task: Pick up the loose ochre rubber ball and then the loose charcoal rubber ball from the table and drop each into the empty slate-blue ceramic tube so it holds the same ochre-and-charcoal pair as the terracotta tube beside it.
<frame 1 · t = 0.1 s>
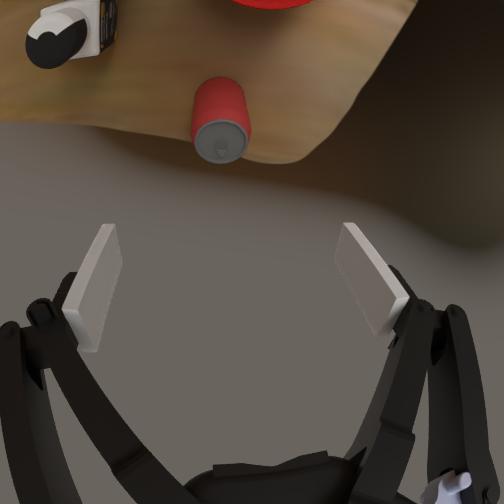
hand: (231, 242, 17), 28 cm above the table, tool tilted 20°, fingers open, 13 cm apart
medicine bottle: (91, 19, 23), on the table
beer can: (219, 96, 36), on the table
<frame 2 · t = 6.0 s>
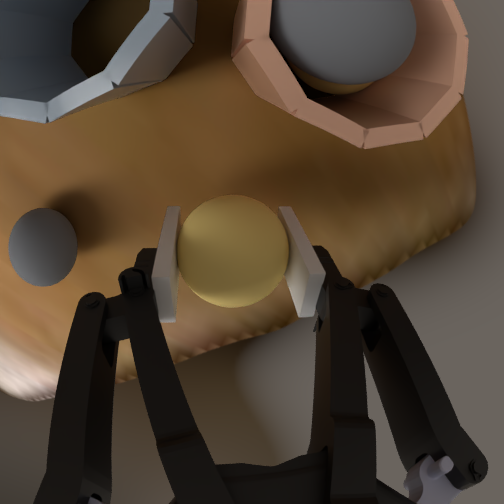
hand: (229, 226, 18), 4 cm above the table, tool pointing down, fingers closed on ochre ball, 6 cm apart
ochre ball A: (309, 45, 16), resting in terracotta tube, tilted 14°, touching charcoal ball A
slate tube: (124, 28, 14), on the table
ochre ball: (229, 223, 18), point 4 cm above the table, touching gripper
charcoal ball A: (357, 43, 11), point 6 cm above the table, tilted 40°, touching ochre ball A, terracotta tube
charcoal ball: (57, 227, 21), on the table
terracotta tube: (305, 44, 16), on the table
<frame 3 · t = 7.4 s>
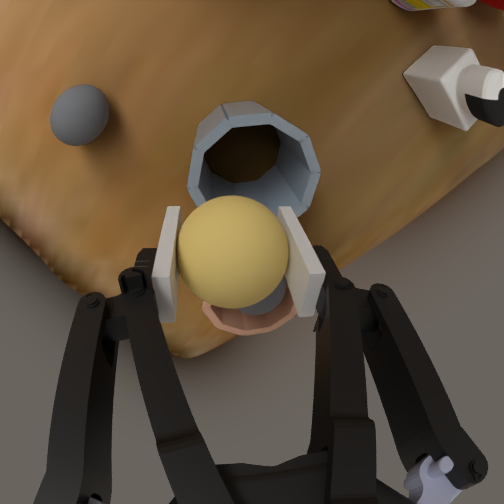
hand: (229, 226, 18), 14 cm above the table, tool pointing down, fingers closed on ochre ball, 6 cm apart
slate tube: (241, 146, 30), on the table
medicine bottle: (430, 80, 27), on the table
ochre ball: (229, 224, 18), point 14 cm above the table, touching gripper
charcoal ball A: (247, 283, 32), point 6 cm above the table, tilted 40°, touching ochre ball A, terracotta tube
charcoal ball: (90, 110, 25), on the table
terracotta tube: (242, 244, 36), on the table
when the fingers open (11 cm above the table, at t = 8.6 s): ochre ball drops 11 cm, resting in slate tube.
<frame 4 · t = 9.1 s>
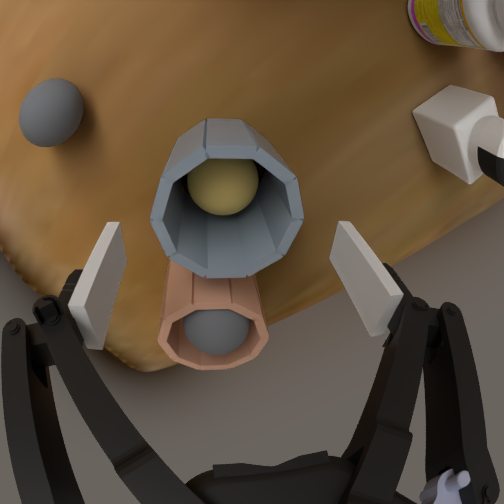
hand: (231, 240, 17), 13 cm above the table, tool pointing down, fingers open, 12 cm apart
slate tube: (221, 168, 27), on the table
medicine bottle: (440, 121, 26), on the table
supplement bottle: (427, 17, 19), on the table
ochre ball: (221, 168, 27), resting in slate tube
charcoal ball A: (209, 317, 29), point 6 cm above the table, tilted 40°, touching ochre ball A, terracotta tube
charcoal ball: (65, 107, 21), on the table
terracotta tube: (210, 271, 34), on the table
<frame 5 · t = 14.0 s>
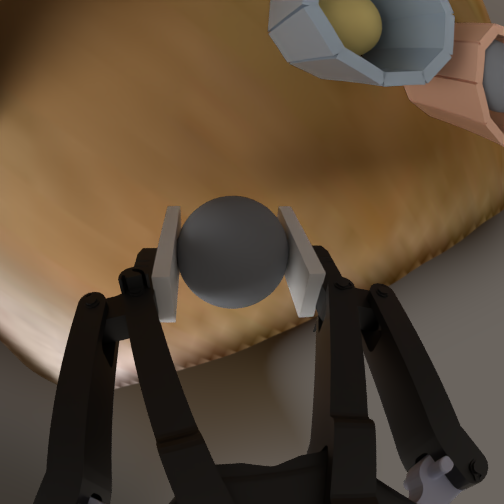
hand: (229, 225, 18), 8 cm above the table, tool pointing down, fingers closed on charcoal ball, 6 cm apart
slate tube: (327, 25, 18), on the table
ochre ball: (327, 25, 18), resting in slate tube
charcoal ball A: (486, 84, 15), point 6 cm above the table, tilted 40°, touching ochre ball A, terracotta tube
charcoal ball: (229, 224, 19), point 8 cm above the table, touching gripper
terracotta tube: (436, 70, 20), on the table
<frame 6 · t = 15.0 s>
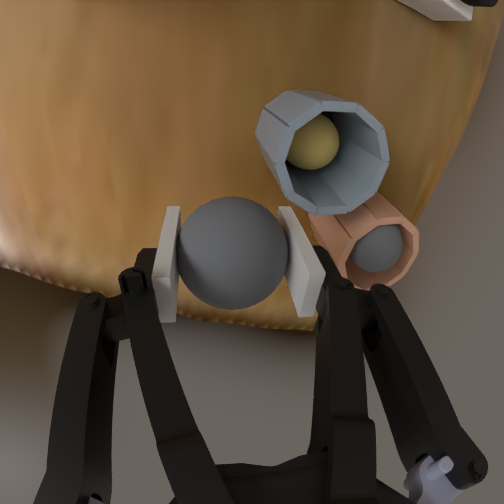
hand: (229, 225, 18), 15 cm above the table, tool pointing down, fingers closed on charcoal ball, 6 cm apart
slate tube: (301, 132, 30), on the table
ochre ball: (301, 132, 30), resting in slate tube
charcoal ball A: (367, 244, 32), point 6 cm above the table, tilted 40°, touching ochre ball A, terracotta tube
charcoal ball: (228, 225, 19), point 15 cm above the table, touching gripper
terracotta tube: (345, 211, 36), on the table
when the fingers open (11 cm above the table, at t = 16.6 s): charcoal ball drops 4 cm and tips over, resting on ochre ball, slate tube.
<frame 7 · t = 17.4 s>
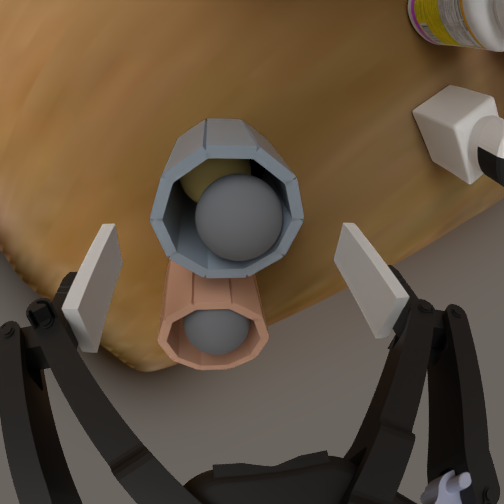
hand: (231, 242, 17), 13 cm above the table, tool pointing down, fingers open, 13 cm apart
slate tube: (221, 168, 27), on the table
medicine bottle: (440, 121, 26), on the table
supplement bottle: (427, 17, 19), on the table
ochre ball: (221, 169, 27), resting in slate tube, tilted 20°, touching charcoal ball
charcoal ball A: (209, 317, 29), point 6 cm above the table, tilted 40°, touching ochre ball A, terracotta tube
charcoal ball: (216, 182, 21), point 7 cm above the table, tilted 52°, touching ochre ball, slate tube
terracotta tube: (210, 271, 34), on the table
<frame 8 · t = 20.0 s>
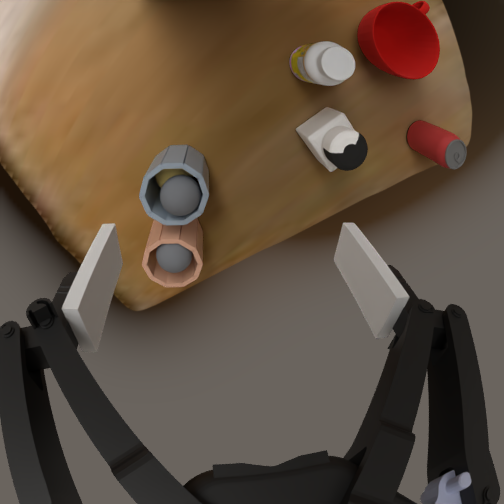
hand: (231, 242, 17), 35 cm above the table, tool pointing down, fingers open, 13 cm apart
slate tube: (179, 171, 48), on the table
medicine bottle: (321, 132, 48), on the table
supplement bottle: (307, 63, 40), on the table
ochre ball: (179, 172, 48), resting in slate tube, tilted 20°, touching charcoal ball
charcoal ball A: (172, 255, 50), point 6 cm above the table, tilted 40°, touching ochre ball A, terracotta tube
beer can: (417, 134, 49), on the table
charcoal ball: (170, 179, 42), point 7 cm above the table, tilted 52°, touching ochre ball, slate tube
terracotta tube: (176, 232, 55), on the table
ceramic cup: (380, 33, 37), on the table
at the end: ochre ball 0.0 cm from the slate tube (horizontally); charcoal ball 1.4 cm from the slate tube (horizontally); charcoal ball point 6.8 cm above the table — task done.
